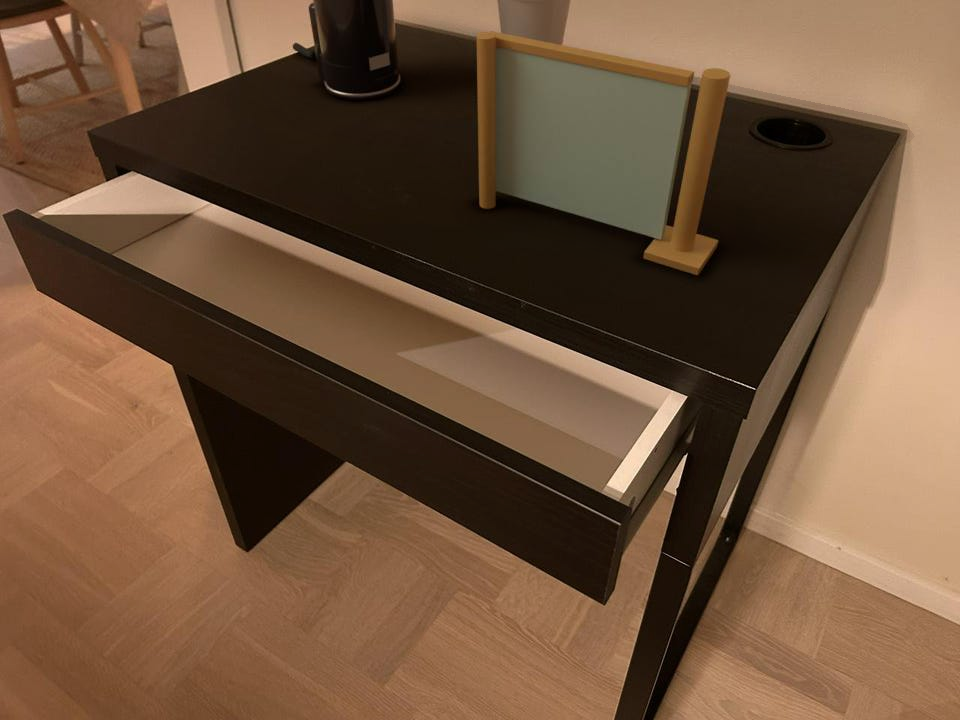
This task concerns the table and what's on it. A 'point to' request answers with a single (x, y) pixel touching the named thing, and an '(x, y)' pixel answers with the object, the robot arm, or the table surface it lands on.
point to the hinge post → (694, 183)
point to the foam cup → (534, 19)
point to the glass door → (589, 131)
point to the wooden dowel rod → (486, 118)
